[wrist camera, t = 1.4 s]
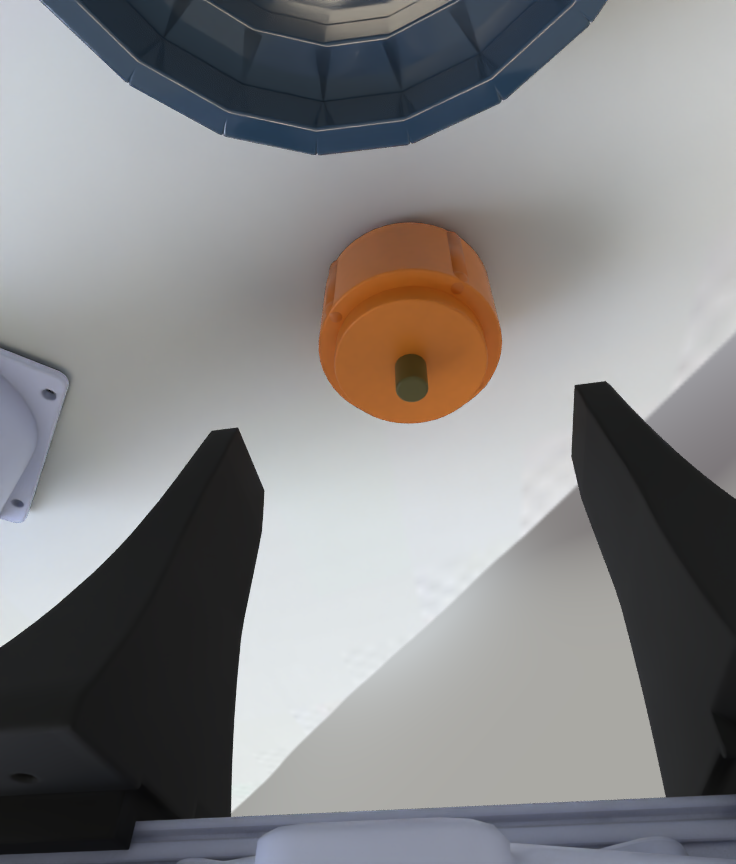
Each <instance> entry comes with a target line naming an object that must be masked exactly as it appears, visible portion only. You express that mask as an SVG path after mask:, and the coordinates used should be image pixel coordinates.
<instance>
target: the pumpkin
mask: <svg viewBox="0 0 736 864" xmlns="http://www.w3.org/2000/svg"><path fill="white" fill-rule="evenodd" d="M501 349H502V335H501V328H500V324H499V320H498V316H497V312H496V308H495V304H494V300H493V296H492V292H491V288H490V284H489V280H488V276H487V272H486V270H485V268H484V265H483V263H482V261H481V260H480V258H479V256H478V255H477V254H476V252H475V251H474V250H473V249H472V248H471V247H470V246H469V245H468V244H467V243H466V242H465V241H464V240H463V239H461V238H460V237H459V236H458V235H457V234H456V233H454V232H451V231H447V230H445V229H443V228H440V227H437V226H434V225H429V224H424V223H413V222H406V223H396V224H391V225H386V226H383V227H380V228H377V229H374V230H372V231H370V232H368V233H366V234H364V235H362V236H361V237H359V238H358V239H356V240H355V241H354V242H352V243H351V244H350V245H349V246H348V247H347V248H346V249H345V250H344V251H343V252H342V253H341V254H340V255H339V257H338V258H337V260H336V261H334V262H333V263H332V264H331V266H330V269H329V276H328V279H327V282H326V288H325V295H324V303H323V311H322V319H321V327H320V335H319V356H320V362H321V365H322V368H323V371H324V373H325V375H326V377H327V379H328V380H329V382H330V383H331V385H332V386H333V388H334V389H335V390H336V391H337V392H338V393H339V394H340V395H341V396H342V397H343V398H344V399H345V400H346V401H348V402H349V403H351V404H352V405H354V406H355V407H357V408H359V409H361V410H363V411H364V412H366V413H368V414H370V415H372V416H374V417H376V418H379V419H382V420H386V421H390V422H396V423H421V422H427V421H431V420H435V419H438V418H441V417H444V416H446V415H448V414H450V413H452V412H454V411H455V410H457V409H459V408H460V407H461V406H463V405H464V404H465V403H467V402H469V401H470V400H471V399H472V398H474V397H475V396H476V395H477V394H478V393H479V392H480V391H481V390H482V389H483V388H485V386H486V385H487V383H488V382H489V380H490V379H491V377H492V375H493V373H494V372H495V370H496V367H497V365H498V362H499V359H500V355H501Z"/></svg>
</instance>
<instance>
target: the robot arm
mask: <svg viewBox="0 0 736 864" xmlns="http://www.w3.org/2000/svg"><path fill="white" fill-rule="evenodd" d="M68 386H69V380H68V378H67V377H66V376H65V375H64V374H63V373H61V372H60V371H58V370H55V369H53V368H50V367H48V366H45V365H42V364H40V363H37V362H35V361H32V360H30V359H27V358H25V357H22V356H20V355H17V354H14V353H12V352H9V351H7V350H4V349H2V348H0V518H1V519H4V520H7V521H10V522H15V523H21V522H23V521H25V519H26V518H27V516H28V514H29V510H30V507H31V504H32V501H33V498H34V494H35V491H36V488H37V485H38V482H39V479H40V475H41V472H42V469H43V466H44V463H45V459H46V456H47V453H48V450H49V447H50V444H51V440H52V437H53V434H54V431H55V428H56V425H57V421H58V418H59V415H60V412H61V409H62V405H63V402H64V399H65V396H66V393H67V390H68ZM47 389H48V390H51V391H53V392H54V393H55V394H54V393H50V392H49V391H48V390H47ZM571 456H572V461H573V465H574V470H575V474H576V478H577V482H578V487H579V490H580V495H581V499H582V501H583V504H584V507H585V510H586V512H587V515H588V518H589V520H590V523H591V526H592V529H593V531H594V534H595V537H596V539H597V542H598V544H599V547H600V550H601V552H602V555H603V558H604V560H605V563H606V565H607V568H608V571H609V573H610V576H611V579H612V581H613V584H614V587H615V590H616V593H617V596H618V599H619V602H620V605H621V608H622V612H623V616H624V620H625V623H626V627H627V631H628V635H629V639H630V643H631V646H632V650H633V654H634V658H635V662H636V667H637V671H638V674H639V679H640V683H641V687H642V691H643V695H644V699H645V704H646V708H647V713H648V717H649V721H650V726H651V730H652V735H653V739H654V743H655V748H656V752H657V757H658V762H659V767H660V771H661V776H662V780H663V785H664V790H665V795H666V797H665V798H644V799H621V800H600V801H599V800H598V801H576V802H554V803H533V804H512V805H511V804H510V805H489V806H488V805H487V806H467V807H466V806H465V807H443V808H421V809H398V810H376V811H355V812H334V813H333V812H332V813H311V814H287V815H265V816H244V817H231V785H232V754H233V733H234V715H235V701H236V687H237V675H238V664H239V654H240V643H241V635H242V629H243V623H244V617H245V612H246V607H247V603H248V598H249V593H250V588H251V583H252V578H253V574H254V569H255V564H256V559H257V554H258V549H259V544H260V538H261V533H262V522H263V507H264V489H263V486H262V484H261V481H260V479H259V477H258V474H257V472H256V469H255V467H254V465H253V462H252V460H251V457H250V455H249V453H248V450H247V448H246V445H245V443H244V441H243V438H242V436H241V433H240V431H239V429H238V428H230V429H222V430H214V431H211V432H210V434H209V435H208V436H207V438H206V439H205V440H204V442H203V443H202V444H201V446H200V447H199V448H198V450H197V451H196V452H195V454H194V455H193V456H192V458H191V459H190V461H189V462H188V463H187V465H186V466H185V467H184V469H183V470H182V471H181V473H180V474H179V475H178V477H177V478H176V479H175V481H174V482H173V483H172V485H171V486H170V487H169V489H168V490H167V491H166V492H165V494H164V495H163V496H162V498H161V499H160V500H159V502H158V503H157V504H156V505H155V506H154V508H153V509H152V510H151V511H150V512H149V513H148V515H147V516H146V517H145V518H144V519H143V521H142V522H141V523H140V524H139V525H138V527H137V528H136V529H135V530H134V531H133V532H132V534H131V535H130V536H129V537H128V538H127V539H126V540H125V541H124V542H123V543H122V544H121V546H120V547H119V548H118V549H117V550H116V551H115V552H114V553H113V554H112V555H111V556H110V557H109V558H108V559H107V560H106V561H105V562H104V563H103V564H102V565H101V566H100V567H99V568H98V569H97V570H96V571H95V572H94V573H92V574H91V575H90V576H89V577H88V578H87V579H86V580H85V581H84V582H82V583H81V584H80V585H79V586H78V587H77V588H76V589H74V590H73V591H72V592H71V593H70V594H69V595H68V596H66V597H65V598H64V599H63V600H62V601H61V602H60V603H58V604H57V605H56V606H55V607H54V608H52V609H51V610H50V611H49V612H47V613H46V614H45V615H44V616H42V617H41V618H40V619H39V620H37V621H36V622H35V623H33V624H32V625H31V626H29V627H28V628H27V629H25V630H24V631H23V632H21V633H20V634H19V635H17V636H16V637H15V638H13V639H12V640H10V641H9V642H8V643H6V644H5V645H3V646H2V647H0V864H736V499H735V498H733V497H732V496H731V495H729V494H728V493H727V492H725V491H724V490H723V489H721V488H720V487H719V486H717V485H716V484H714V483H713V482H712V481H711V480H710V479H708V478H707V477H706V476H704V475H703V474H702V473H701V472H700V471H698V470H697V469H696V468H695V467H694V466H692V465H691V464H690V463H689V462H688V461H687V460H685V459H684V458H683V457H682V456H681V455H680V454H679V453H677V452H676V451H675V450H674V449H673V448H672V447H671V446H670V445H669V444H668V443H667V442H665V441H664V440H663V439H662V438H661V437H660V436H659V435H658V434H657V433H656V432H655V431H654V430H653V429H652V428H651V427H650V426H649V425H648V424H647V423H646V422H645V421H644V420H643V419H642V418H641V417H640V416H639V415H638V414H637V413H636V412H635V411H634V410H633V409H632V408H631V407H630V406H629V405H628V404H627V403H626V402H625V401H624V400H623V398H622V397H621V396H620V395H619V394H618V393H617V392H616V391H615V390H614V389H613V387H612V386H611V385H610V384H608V383H607V382H606V381H604V382H596V383H588V384H580V385H575V389H574V411H573V433H572V455H571Z"/></svg>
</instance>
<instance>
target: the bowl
mask: <svg viewBox="0 0 736 864" xmlns="http://www.w3.org/2000/svg"><path fill="white" fill-rule="evenodd" d="M40 1H41V2H42V3H43V4H44V5H45V6H46V7H47V8H48V9H49V10H50V11H51V12H52V13H53V14H54V15H55V16H56V17H57V18H59V19H60V20H61V21H62V22H63V23H64V24H65V25H66V26H67V27H68V28H69V29H70V30H71V31H72V32H73V33H74V34H75V35H77V36H78V37H79V38H80V39H81V40H82V41H83V42H84V43H85V44H86V45H87V46H88V47H89V48H90V49H91V50H92V51H93V52H94V53H96V54H97V55H98V56H99V57H100V58H101V59H102V60H103V61H104V62H105V63H106V64H107V65H108V66H109V67H110V68H111V69H112V70H114V71H115V72H116V73H117V74H118V75H119V76H120V77H121V78H122V79H123V80H124V81H125V82H127V83H128V82H129V85H130V86H132V87H134V88H135V89H137V90H139V91H141V92H143V93H145V94H146V95H148V96H150V97H152V98H154V99H156V100H157V101H159V102H161V103H163V104H165V105H167V106H168V107H170V108H172V109H174V110H176V111H178V112H179V113H181V114H183V115H185V116H187V117H188V118H190V119H192V120H194V121H196V122H198V123H199V124H201V125H203V126H205V127H207V128H209V129H210V130H212V131H214V132H216V133H218V134H220V135H223V134H224V136H226V137H229V138H234V139H239V140H244V141H249V142H253V143H258V144H263V145H268V146H273V147H278V148H282V149H287V150H292V151H297V152H302V153H306V154H311V155H316V154H318V155H328V154H336V153H345V152H353V151H362V150H370V149H379V148H387V147H396V146H404V145H409V144H410V142H411V143H416V142H418V141H420V140H422V139H424V138H426V137H428V136H431V135H433V134H435V133H437V132H439V131H441V130H444V129H446V128H448V127H450V126H452V125H454V124H456V123H459V122H461V121H463V120H465V119H467V118H469V117H472V116H474V115H476V114H478V113H480V112H482V111H484V110H487V109H489V108H491V107H493V106H495V105H497V104H499V103H500V102H501V101H502V100H505V99H507V98H508V97H509V96H510V95H511V94H512V93H514V92H515V91H516V90H517V89H518V88H519V87H520V86H521V85H523V84H524V83H525V82H526V81H527V80H528V79H529V78H531V77H532V76H533V75H534V74H535V73H536V72H537V71H538V70H540V69H541V68H542V67H543V66H544V65H545V64H546V63H548V62H549V61H550V60H551V59H552V58H553V57H554V56H555V55H557V54H558V53H559V52H560V51H561V50H562V49H563V48H565V47H566V46H567V45H568V44H569V43H570V42H571V41H572V40H574V39H575V38H576V37H577V36H578V35H579V34H580V33H582V32H583V31H584V30H585V29H586V28H587V27H588V26H589V24H590V22H593V21H594V20H595V18H596V17H597V15H598V14H599V12H600V11H601V9H602V8H603V6H604V5H605V3H606V2H607V1H608V0H40Z"/></svg>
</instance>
